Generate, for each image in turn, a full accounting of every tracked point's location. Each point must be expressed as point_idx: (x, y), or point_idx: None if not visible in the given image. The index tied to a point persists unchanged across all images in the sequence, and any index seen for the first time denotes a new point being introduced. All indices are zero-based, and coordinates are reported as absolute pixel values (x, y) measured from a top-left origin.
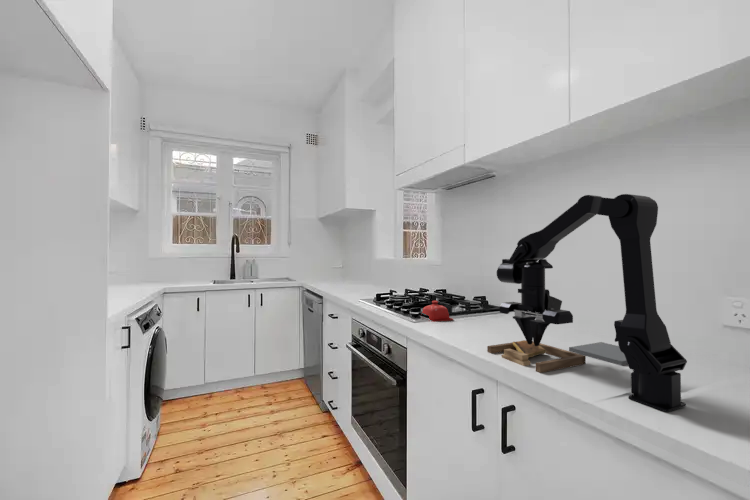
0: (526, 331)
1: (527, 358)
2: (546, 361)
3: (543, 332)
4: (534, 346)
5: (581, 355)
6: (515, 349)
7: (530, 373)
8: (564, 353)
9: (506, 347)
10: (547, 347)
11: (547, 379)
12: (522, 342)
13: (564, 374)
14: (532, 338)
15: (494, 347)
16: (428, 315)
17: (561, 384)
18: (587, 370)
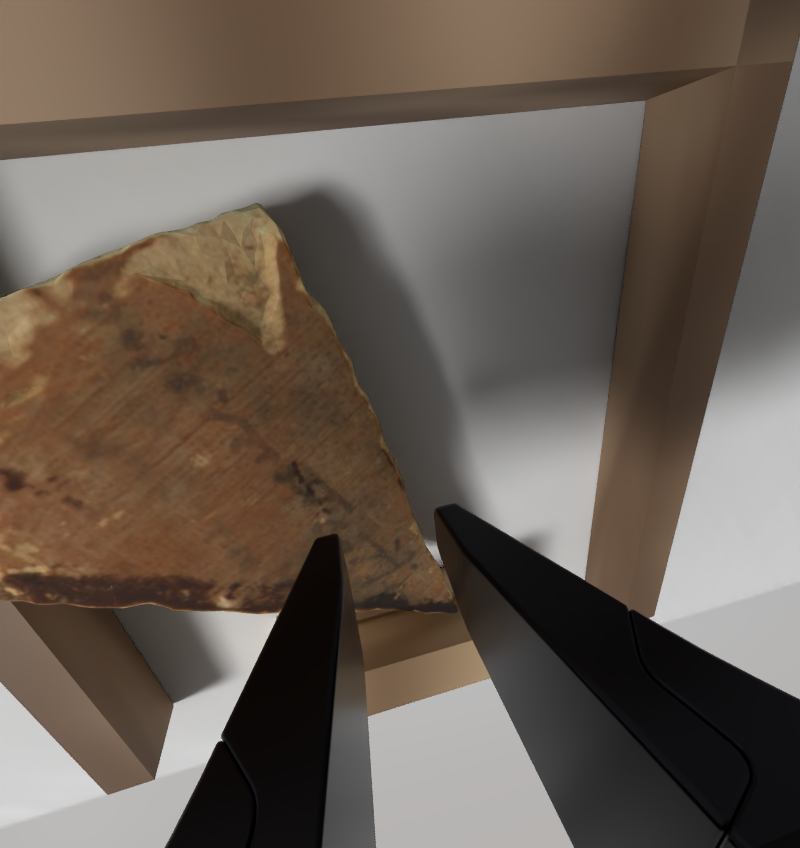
0: (366, 824)
1: None
2: (647, 554)
3: (671, 650)
4: (220, 389)
5: (772, 14)
6: None
7: None
8: (523, 90)
9: (67, 618)
10: (201, 110)
11: (680, 581)
12: (38, 497)
13: (700, 459)
14: (342, 583)
15: (135, 741)
16: None
17: (745, 557)
18: (773, 222)
